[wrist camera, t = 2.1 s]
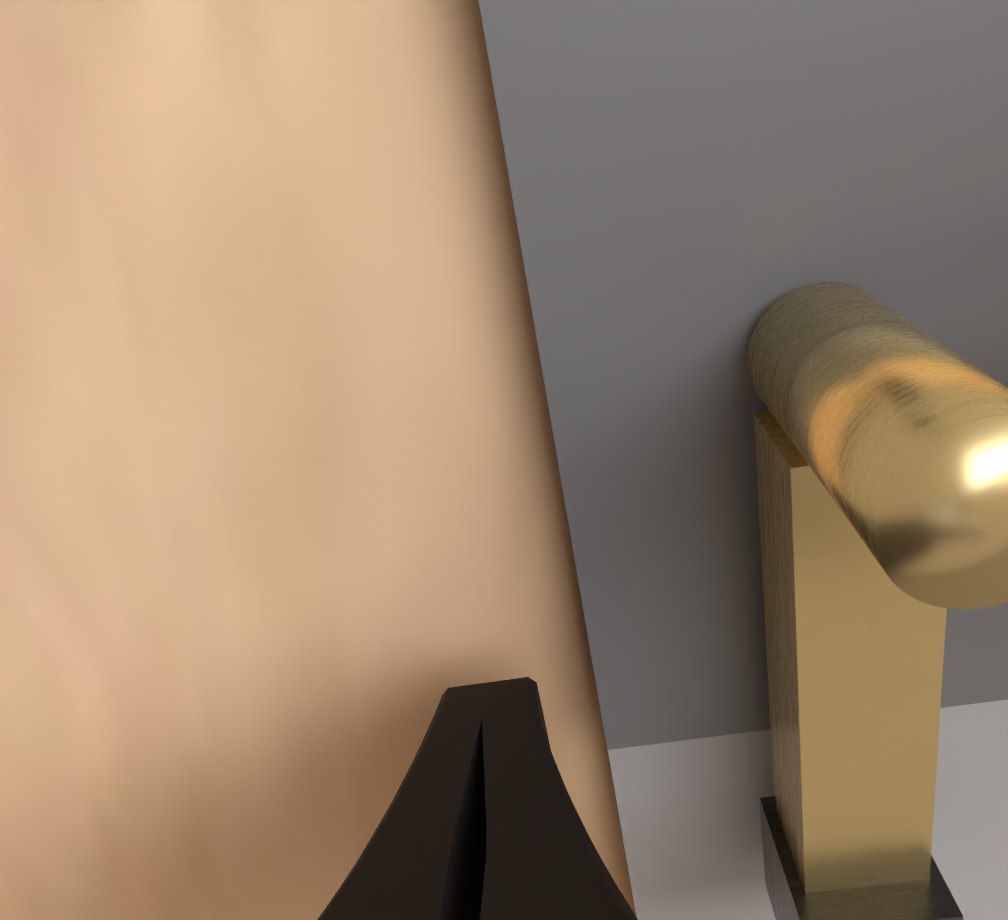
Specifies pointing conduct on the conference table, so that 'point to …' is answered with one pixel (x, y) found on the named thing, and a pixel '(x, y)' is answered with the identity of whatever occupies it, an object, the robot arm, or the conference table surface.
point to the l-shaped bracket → (866, 590)
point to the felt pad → (749, 776)
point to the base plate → (733, 288)
